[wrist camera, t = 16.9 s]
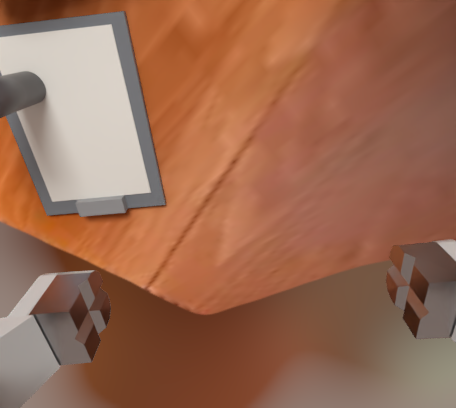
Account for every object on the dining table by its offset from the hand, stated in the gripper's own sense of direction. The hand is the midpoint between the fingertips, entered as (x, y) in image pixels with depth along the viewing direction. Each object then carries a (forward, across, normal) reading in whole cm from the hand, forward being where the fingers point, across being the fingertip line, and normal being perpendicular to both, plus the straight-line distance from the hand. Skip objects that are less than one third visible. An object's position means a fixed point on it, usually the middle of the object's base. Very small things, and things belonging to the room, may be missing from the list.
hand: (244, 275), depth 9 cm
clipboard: (+31, +18, +2) cm, 36 cm away
